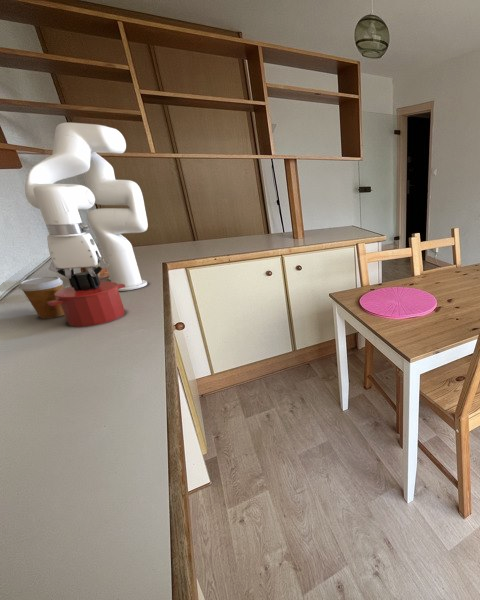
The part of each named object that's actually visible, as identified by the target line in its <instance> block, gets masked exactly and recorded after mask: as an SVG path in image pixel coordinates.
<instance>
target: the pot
mask: <svg viewBox="0 0 480 600" xmlns="http://www.w3.org/2000/svg"><path fill="white" fill-rule="evenodd" d="M124 287H125V284H118V287H117V288H116V289H114V290H112V291H109V292H106V293H103V294H98V295H94V296H88V297H81V298H58V299H57V300H53V301H49V302H47V303H48V305H51V306H56V305H59V304H61V306H62V309H63V311H64V316H65V319H66V321H67V323H68V326H70V327H79V328H80V327H90V326H97V325H102V324H106V323H109V322H113V321H115V320H117V319H120V318H121V317H123V316H124V315H125V313H126V312H125V307H124V304H123V302H122V298H121V294H120V291H118V289H120V288H124Z"/></svg>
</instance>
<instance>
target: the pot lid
mask: <svg viewBox="0 0 480 600" xmlns="http://www.w3.org/2000/svg"><path fill="white" fill-rule="evenodd" d="M74 276H75V278H76V281H77V284H78V287H79V290H78V291H75V290H74V288H72V286H71V285H70V286H67V287H64V288H63V289H61V290H59V291H57V292H55V294H54V295H55V297H58V298H81V297H88V296H94V295H98V294H103V293H106V292H109V291H112V290H114V289H116V288H117V287H118V284H117V283H114V282H111V281H100V285H99V287H98V288H97V289H93V288H92V285H91V282H90V279H89V277H91V276H90V273H89V272H81V271H80V272H77V273H75V274H74Z"/></svg>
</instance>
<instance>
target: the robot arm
mask: <svg viewBox="0 0 480 600" xmlns="http://www.w3.org/2000/svg"><path fill="white" fill-rule="evenodd" d="M126 150H127V142H126V139H125V137H124V135H123V134H122V133H121V131H119V130H118V129H117V128H114V127H110V126H107V125H104V124H103V125H102V124H96V123H95V124H94V123H83V122H82V123H81V122H61V123H59V124H57V126H55V130H54V137H53V145H52V153H51V155H49V156H48V157H46V158H44V159H42V160H40V161H39V162H37V163H36V164H35V165H33V166H32V167H31V168H29V170H28V172H27V173H26V178H25V185H24V194H25V198H26V200H27V201H28V203H29V204H30V205H31V206H33V207H34V208H35V209H38V210H40V211H39V212H40V213H41V216H42V218H43V221H44V223H45V227H46V229H47V231H48V235H47V236H46V239H47V247H48V253H49V256H50V258H51V262H50V264H49V267H48V270H49V271H50V272H54V273H57V274H60V275H61V276H63V277H65V278H66V279H68V280H69V283H70V284H69V285H70V287H71V286H72V288H74V290H75V291H78V290H79V287H78V284H77V281H76V278H75V276H74V274H76V273H75V269H81V268H84V267H86V268H87V270H88V272H89V273H90V276H91V277H89V279H90V282H91V285H92V288H93V289H97V288H98V287H99V285H100V282H101V281H100V280H99V278H98V274H99V272H100V271H101V270H102V269H104V268H105V267H107V270H108V273H109V276H108V277H107V278H108V281H110V282H114V283H117V284H125V287H124V288H120V289H118V291H119V292H127V291H133V290H137V289H140V288H141V289H142V288H143V287H146V286H147V285H148V281H147V280H145V279H142V277H141V274H140V273H141V272H140V269H139V266H138V263H137V259H136V255H135V252H134V249H133V248H134V247H133V245H132V243H131V241H129V240H128V238H126V237H125V236H123V234H139V233H140V234H141V233H144V232H147V231H148V227H149V223H148V217H147V212H146V206H145V205H146V204H145V201H144V196H143V192H142V190H141V187H140V185H138V183H137V182H136V181H134V180H129V179H116V176H115V170H114V167H113V166H112V164H111V163H110V162H108V160H106V158H104V157H102V156H101V155H100V154H123V153H125V152H126ZM98 153H100V154H98ZM82 174H84V178H85V184H86V186H85V185H82V184H76V183H57V182H59V181H62V180H65V179H70V178H72V177H77V176H80V175H82ZM95 205H99V206H127V208H126V207H125V208H124V207H123V208H120V207H119V208H118V207H116V208H115V207H111V208H109V207H107V208H104V207H103V208H95V209H92V210H89V209H91V208H93V207H94V206H95ZM84 210H89V212H88V213H87V215H86V219H87V222H88V224H84V222H83V220H82V219H81V215H80V212H79V211H84ZM90 230H92V232H93V234H94V236H95V238H96V241H97V243H98V245H99V248H100V250H99V248H98V246H97V244H96V242H95V240H94V238H93V236H92V235H91V233H90V232H87V231H90ZM100 251H101V252H100ZM101 254H102V255H101ZM102 258H104V259H102ZM99 263H100V266H99V267H97V268H96V267H95V266H96V265H98V264H99Z"/></svg>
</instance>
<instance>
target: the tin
mask: <svg viewBox="0 0 480 600" xmlns="http://www.w3.org/2000/svg"><path fill="white" fill-rule="evenodd" d="M101 258H102V259H104V258H103V257H101ZM99 266H100V263H99V264H98V265H96V266H95V267H96V268H97V267H99ZM79 269H80V273H81V272H88V270H87V268H86V267H84V268H79ZM109 277H110V276H109V273H108V270H107V267H105V268H104V269H102V270H101V271H100V272H99V274H98V278H99V281H100V280H102V279H105V278H109Z"/></svg>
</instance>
